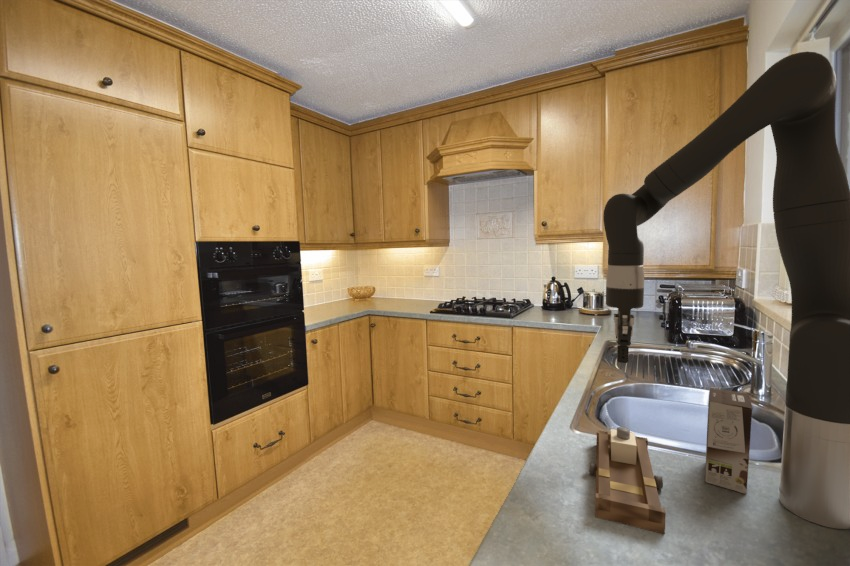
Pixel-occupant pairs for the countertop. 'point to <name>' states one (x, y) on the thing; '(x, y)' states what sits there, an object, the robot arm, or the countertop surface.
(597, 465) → the wooden slider track
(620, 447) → the rider
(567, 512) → the countertop surface
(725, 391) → the coffee box
